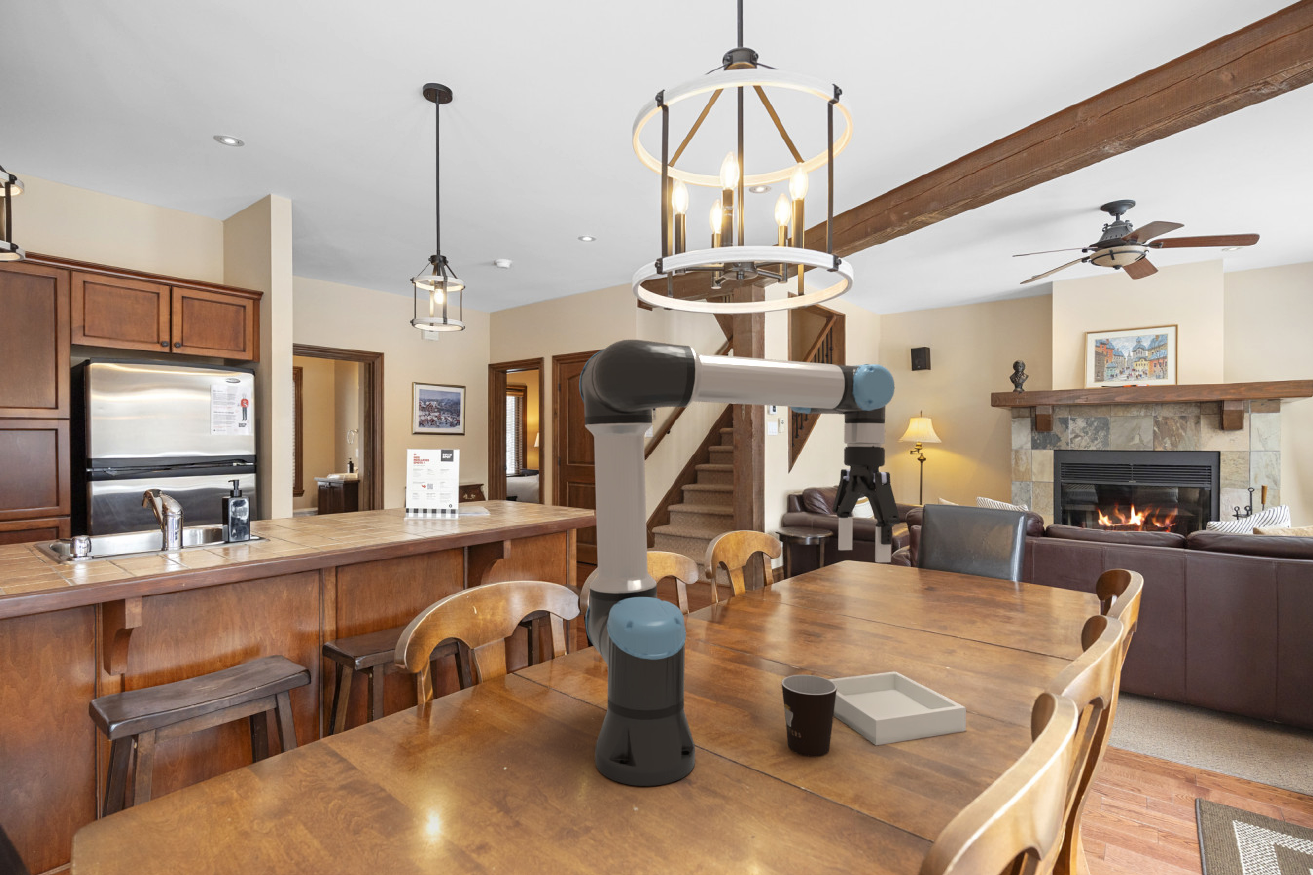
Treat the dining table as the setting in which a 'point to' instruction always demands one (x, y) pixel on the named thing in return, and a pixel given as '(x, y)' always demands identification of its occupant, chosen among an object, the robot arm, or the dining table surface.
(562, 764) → the dining table surface
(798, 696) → the coffee mug
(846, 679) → the white tray
